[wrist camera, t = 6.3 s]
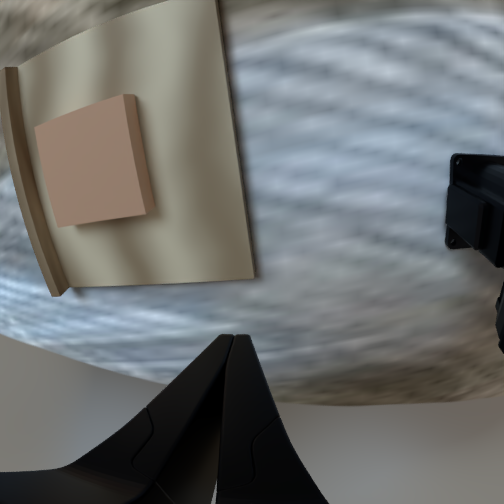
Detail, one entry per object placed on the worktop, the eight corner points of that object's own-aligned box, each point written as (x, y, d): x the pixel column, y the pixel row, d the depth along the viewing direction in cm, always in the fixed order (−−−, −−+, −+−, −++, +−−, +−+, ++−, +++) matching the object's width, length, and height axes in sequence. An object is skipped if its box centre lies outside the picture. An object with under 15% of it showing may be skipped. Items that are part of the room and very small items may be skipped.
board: (216, -5, 14) (208, -19, 12) (255, 271, 21) (252, 290, 19) (17, 72, 16) (-4, 72, 14) (66, 281, 24) (51, 296, 21)
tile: (122, 94, 15) (34, 127, 16) (145, 214, 17) (57, 227, 18) (135, 94, 16) (49, 124, 17) (156, 205, 19) (70, 219, 20)
